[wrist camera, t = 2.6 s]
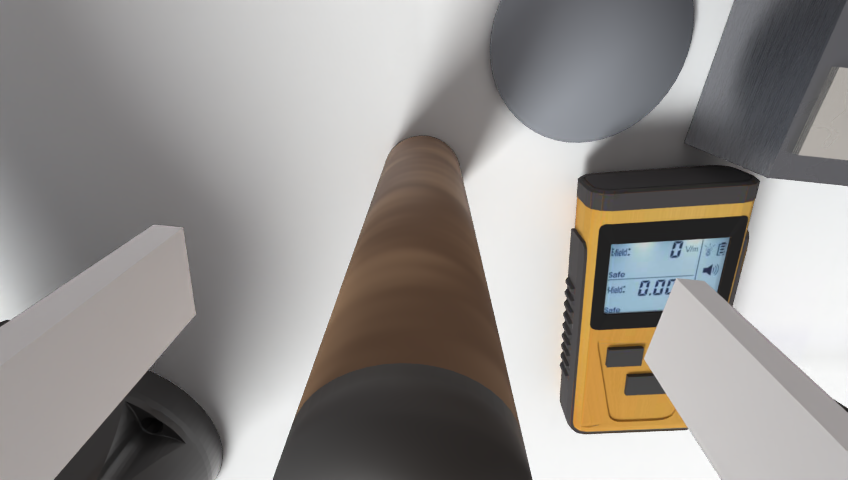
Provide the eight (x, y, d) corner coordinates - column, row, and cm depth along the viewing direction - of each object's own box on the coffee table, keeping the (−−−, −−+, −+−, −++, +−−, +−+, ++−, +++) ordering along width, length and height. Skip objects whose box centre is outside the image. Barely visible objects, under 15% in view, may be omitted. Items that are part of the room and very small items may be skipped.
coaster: (476, 131, 22) (477, 132, 22) (509, -87, 18) (511, -90, 18) (652, 149, 22) (655, 151, 22) (720, -62, 18) (726, -63, 18)
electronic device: (552, 400, 29) (565, 442, 26) (566, 173, 22) (586, 195, 19) (681, 395, 29) (710, 438, 26) (735, 162, 22) (783, 183, 19)
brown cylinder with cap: (381, 205, 24) (275, 578, 7) (386, 131, 22) (262, 401, 6) (454, 213, 24) (509, 595, 8) (465, 139, 22) (564, 427, 6)
